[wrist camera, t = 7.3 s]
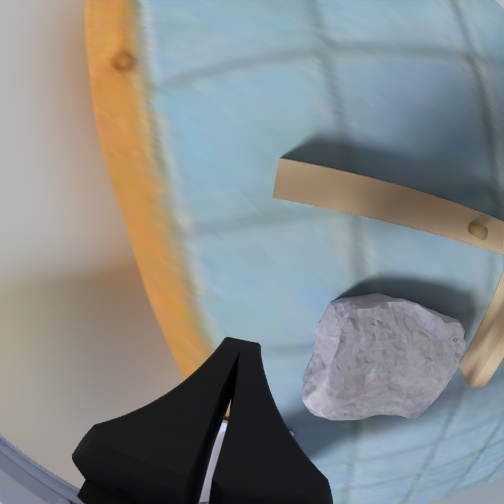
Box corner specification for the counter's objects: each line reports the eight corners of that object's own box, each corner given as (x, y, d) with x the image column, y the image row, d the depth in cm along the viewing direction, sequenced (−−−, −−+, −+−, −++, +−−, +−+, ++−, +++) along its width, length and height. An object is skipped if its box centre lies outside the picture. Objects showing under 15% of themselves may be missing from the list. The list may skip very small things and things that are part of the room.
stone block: (322, 275, 20) (294, 391, 22) (337, 294, 16) (298, 429, 17) (452, 293, 20) (415, 394, 21) (485, 311, 15) (436, 424, 17)
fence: (472, 365, 19) (487, 391, 16) (247, 343, 21) (239, 377, 17) (529, 232, 15) (557, 247, 11) (280, 157, 16) (278, 158, 13)
